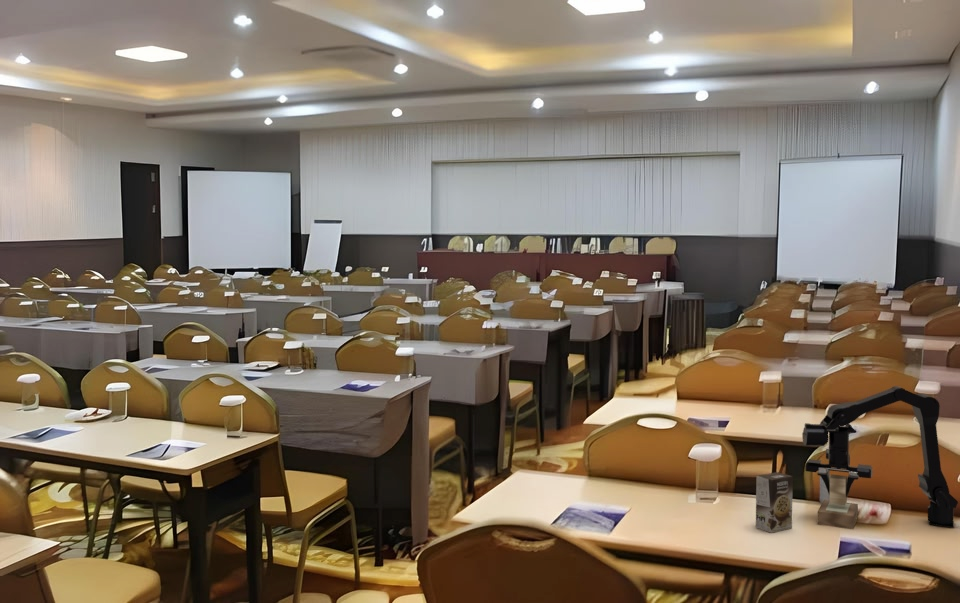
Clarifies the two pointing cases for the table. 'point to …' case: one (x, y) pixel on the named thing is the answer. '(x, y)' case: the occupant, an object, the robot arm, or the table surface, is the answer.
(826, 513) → the walnut base
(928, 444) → the robot arm
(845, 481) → the maple block
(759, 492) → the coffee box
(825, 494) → the medicine box
